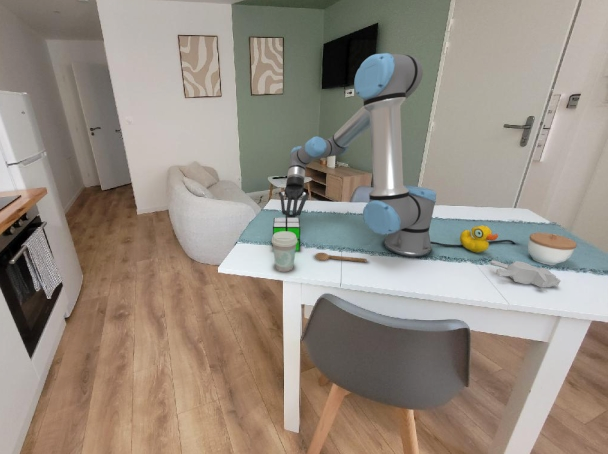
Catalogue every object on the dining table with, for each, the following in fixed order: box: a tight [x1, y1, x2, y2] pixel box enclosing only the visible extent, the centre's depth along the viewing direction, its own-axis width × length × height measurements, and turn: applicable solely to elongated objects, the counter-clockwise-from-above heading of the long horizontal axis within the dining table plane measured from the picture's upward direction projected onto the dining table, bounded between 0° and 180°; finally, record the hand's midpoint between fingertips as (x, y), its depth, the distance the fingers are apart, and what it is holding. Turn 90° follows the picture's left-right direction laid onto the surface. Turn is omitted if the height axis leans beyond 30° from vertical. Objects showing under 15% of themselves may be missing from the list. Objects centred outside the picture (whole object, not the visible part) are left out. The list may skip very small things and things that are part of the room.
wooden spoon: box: [315, 252, 368, 263], centre depth 102 cm, size 17×4×1 cm, turn 73°
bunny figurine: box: [489, 259, 561, 288], centre depth 86 cm, size 10×5×15 cm
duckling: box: [459, 225, 499, 253], centre depth 102 cm, size 11×5×10 cm, turn 17°
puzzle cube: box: [272, 217, 301, 252], centre depth 113 cm, size 10×10×10 cm
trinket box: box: [527, 232, 578, 266], centre depth 94 cm, size 11×11×9 cm
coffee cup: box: [271, 231, 298, 273], centre depth 97 cm, size 8×9×12 cm
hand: (288, 229), depth 118 cm, fingers closed
